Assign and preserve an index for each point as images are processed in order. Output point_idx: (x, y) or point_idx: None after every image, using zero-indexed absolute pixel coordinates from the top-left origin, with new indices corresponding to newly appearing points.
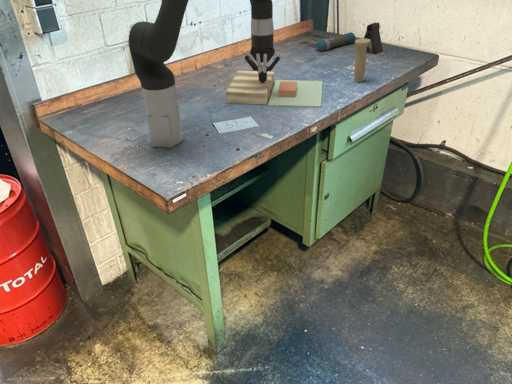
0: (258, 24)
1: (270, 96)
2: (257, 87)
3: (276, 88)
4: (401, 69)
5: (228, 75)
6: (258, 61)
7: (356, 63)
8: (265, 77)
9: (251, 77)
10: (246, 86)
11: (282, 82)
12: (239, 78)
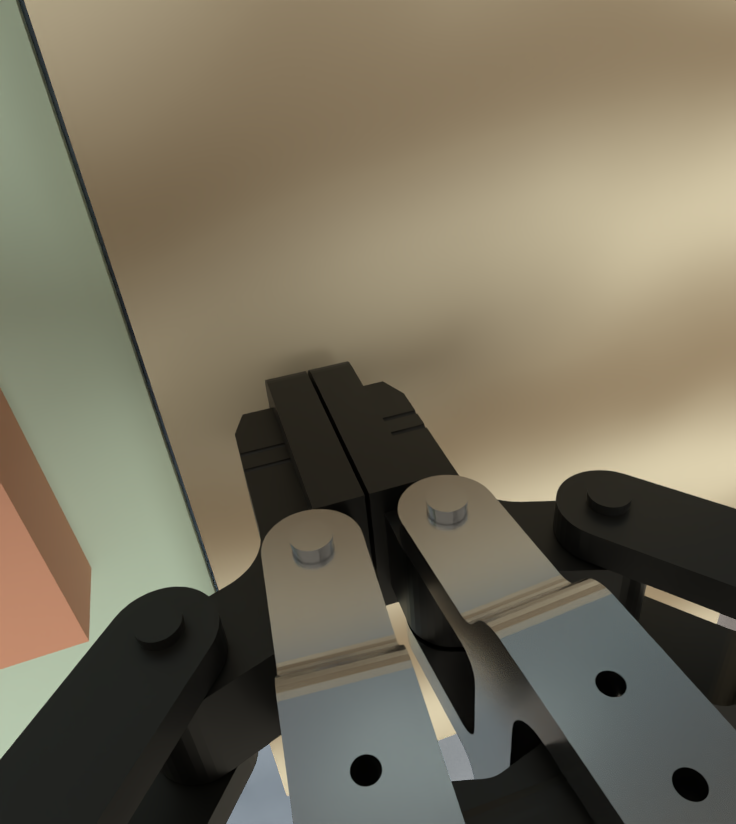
0: None
1: (84, 210)
2: (349, 152)
3: (136, 525)
4: None
5: (723, 618)
6: (660, 732)
7: None
8: (267, 462)
9: None
10: (578, 156)
11: (33, 621)
12: (698, 454)
